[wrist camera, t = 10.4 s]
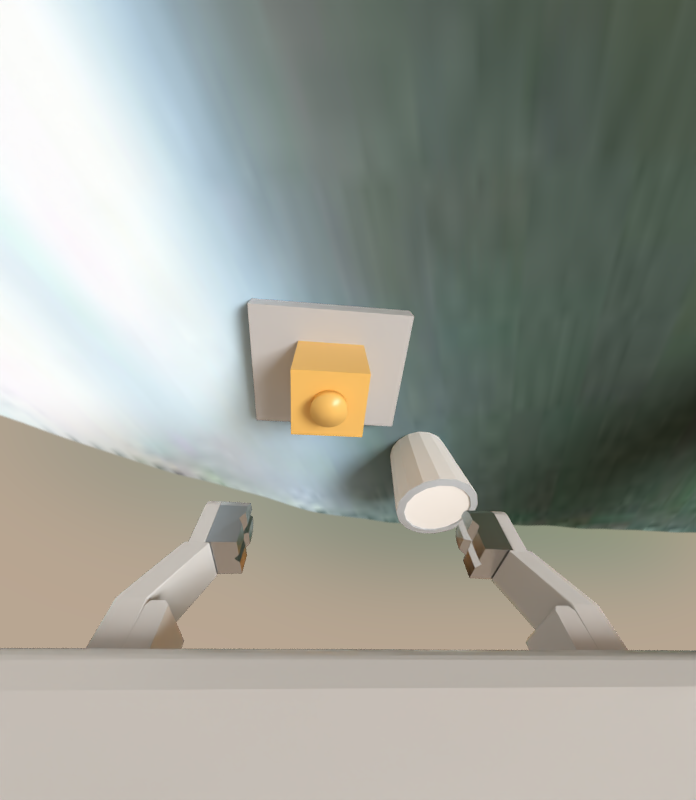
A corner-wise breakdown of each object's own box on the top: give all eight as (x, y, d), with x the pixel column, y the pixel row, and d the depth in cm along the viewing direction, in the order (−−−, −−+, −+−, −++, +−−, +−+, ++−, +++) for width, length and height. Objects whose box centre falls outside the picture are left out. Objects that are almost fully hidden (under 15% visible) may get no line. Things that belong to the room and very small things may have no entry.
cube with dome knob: (363, 345, 23) (372, 380, 18) (357, 400, 26) (363, 444, 21) (298, 340, 23) (288, 374, 18) (297, 397, 25) (289, 441, 21)
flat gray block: (409, 310, 24) (426, 331, 19) (389, 416, 29) (399, 451, 24) (251, 298, 23) (233, 317, 18) (260, 410, 28) (247, 445, 23)
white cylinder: (373, 443, 30) (383, 499, 24) (438, 415, 29) (466, 467, 23) (399, 485, 34) (413, 543, 28) (458, 462, 32) (487, 518, 26)
